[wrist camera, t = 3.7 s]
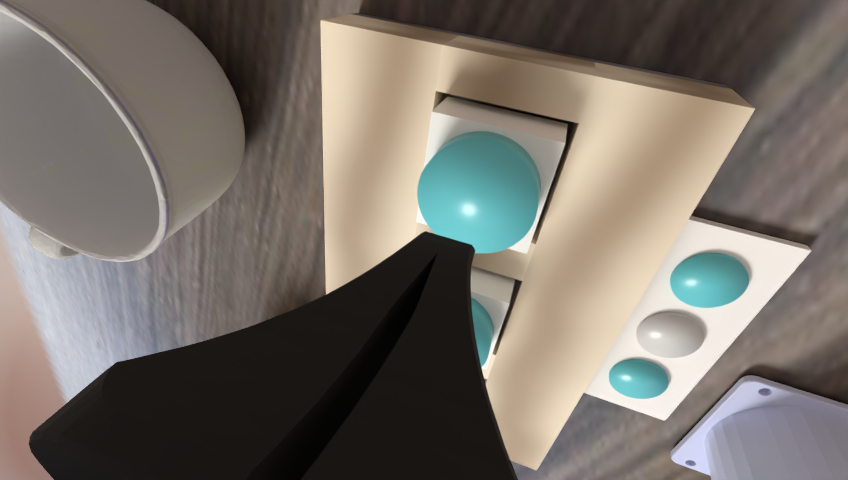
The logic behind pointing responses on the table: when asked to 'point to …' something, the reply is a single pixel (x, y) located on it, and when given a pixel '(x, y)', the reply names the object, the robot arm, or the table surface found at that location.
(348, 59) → the button board
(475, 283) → the button mid
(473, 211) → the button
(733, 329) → the card
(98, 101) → the teacup
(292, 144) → the table surface
